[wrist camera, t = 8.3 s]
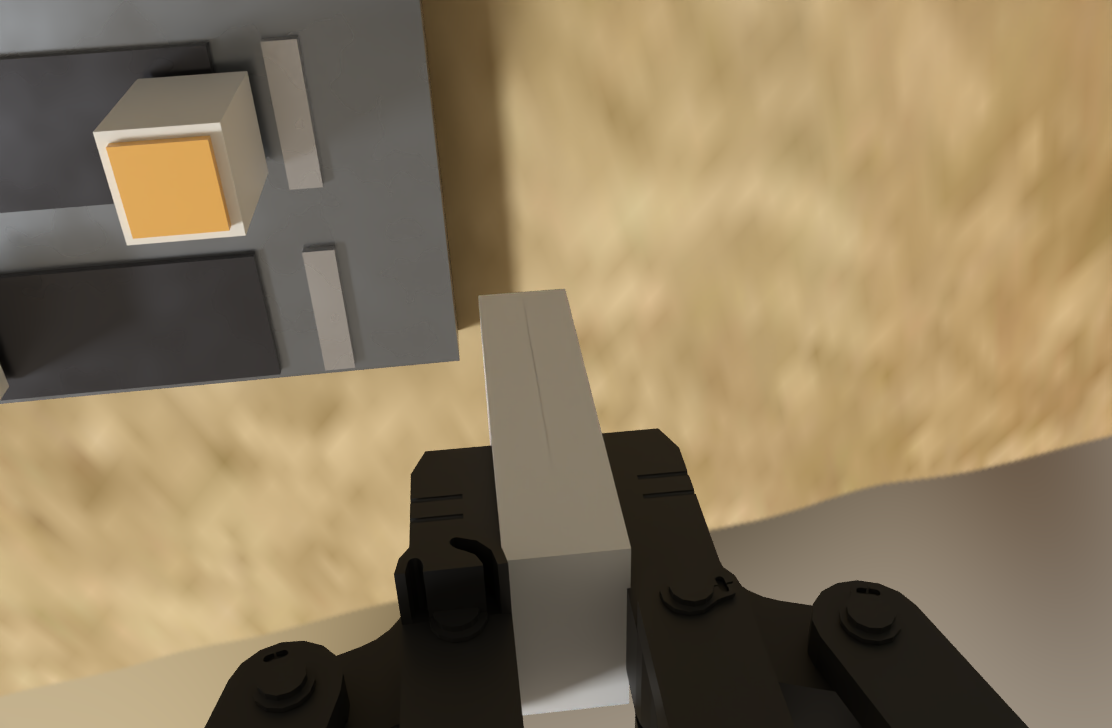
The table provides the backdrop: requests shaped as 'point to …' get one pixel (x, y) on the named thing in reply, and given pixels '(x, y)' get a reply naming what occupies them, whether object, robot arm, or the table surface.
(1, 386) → the block
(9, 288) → the panel
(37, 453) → the table surface
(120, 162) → the block
